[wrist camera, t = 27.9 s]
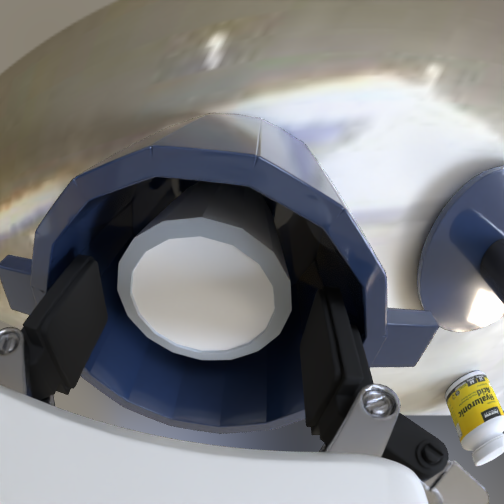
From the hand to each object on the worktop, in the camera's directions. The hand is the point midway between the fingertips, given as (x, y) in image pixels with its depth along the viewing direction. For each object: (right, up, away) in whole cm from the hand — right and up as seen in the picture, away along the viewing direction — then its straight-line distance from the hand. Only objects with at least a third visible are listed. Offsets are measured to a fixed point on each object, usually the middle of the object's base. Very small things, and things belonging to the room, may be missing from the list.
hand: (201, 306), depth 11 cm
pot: (0, +4, +7) cm, 8 cm away
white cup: (0, +4, +7) cm, 8 cm away
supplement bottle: (+25, -13, +16) cm, 32 cm away
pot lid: (+19, +2, +7) cm, 20 cm away
